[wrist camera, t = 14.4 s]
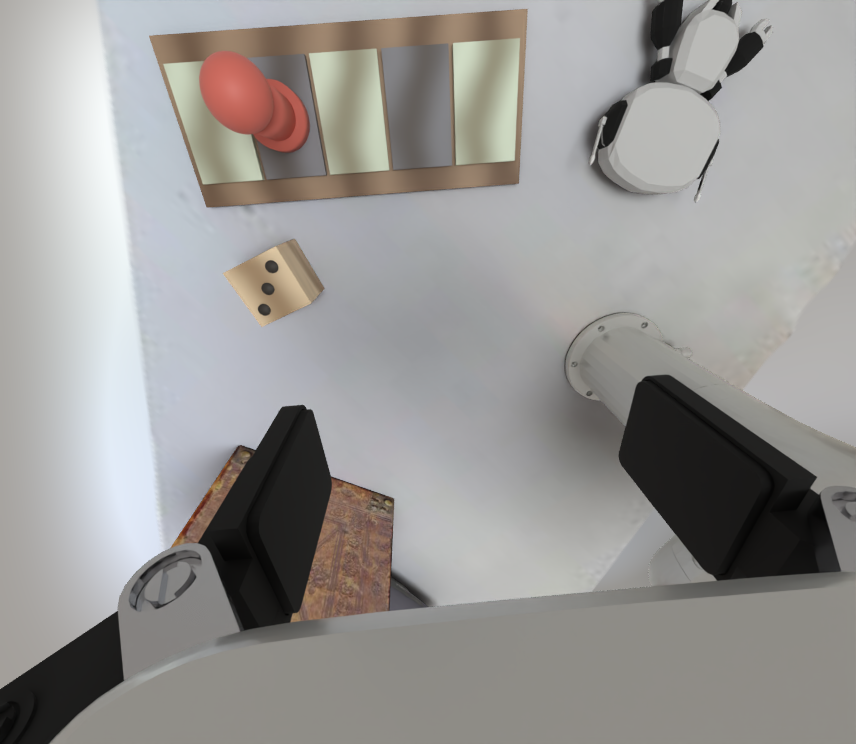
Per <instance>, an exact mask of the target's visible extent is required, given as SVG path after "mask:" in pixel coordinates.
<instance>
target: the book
mask: <svg viewBox="0 0 856 744" xmlns="http://www.w3.org/2000/svg"><path fill="white" fill-rule="evenodd" d="M255 451H256V450H254V449H251V448H248V447H245V446H242V445H240V446H238V447H237V448H236V450H235V451H234V453H233V454H232V456H231V457H230V459H229V460H228V462H227V464H226V465H225V467H224V468H223V470H222V471H221V473H220V474H219V476H218V477H217V479H216V480H215V482H214V483H213V485H212V486H211V488H210V489H209V491H208V492H207V494H206V495H205V497H204V498H203V500H202V501H201V503H200V504H199V506H198V507H197V509H196V510H195V512H194V513H193V515H192V516H191V518H190V519H189V521H188V522H187V524H186V525H185V527H184V528H183V530H182V531H181V533H180V534H179V536H178V537H177V539H176V540H175V542H174V543H173V545H172V547H174V546H178V545H182V544H186V543H198V542H199V540H200V538H201V537H202V535H203V533H204V532H205V530H206V528H207V527H208V525H209V524H210V522H211V520H212V519H213V517H214V515H215V514H216V512H217V510H218V509H219V507H220V505H221V504H222V502H223V500H224V499H225V497H226V495H227V494H228V492H229V490H230V489H231V487H232V486H233V484H234V482H235V481H236V479H237V477H238V476H239V474H240V472H241V471H242V469H243V467H244V466H245V464H246V462H247V461H248V460H249V459H250V457H252V456H253V454H254V453H255ZM331 480H332V490H331V494H330V498H329V502H328V506H327V510H326V514H325V517H324V521H323V525H322V529H321V533H320V537H319V540H318V544H317V548H316V552H315V556H314V559H313V563H312V567H311V571H310V575H309V579H308V582H307V586H306V590H305V594H304V598H303V601H302V605H301V608H300V610H299V612H298V613H293V614H292V618H291V621H290V622H297V621H306V620H315V619H323V618H332V617H340V616H349V615H358V614H366V613H375V612H385V611H390V587H391V563H392V539H393V515H394V499H393V498H390V497H388V496H385V495H382V494H379V493H376V492H373V491H371V490H368V489H365V488H362V487H359V486H356V485H353V484H351V483H348V482H345V481H342V480H339V479H336V478H333V477H331ZM172 547H171V548H172Z"/></svg>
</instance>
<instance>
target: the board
mask: <svg viewBox="0 0 856 744" xmlns="http://www.w3.org/2000/svg"><path fill="white" fill-rule="evenodd" d="M526 29H527V9H519V10H505V11H491V12H477V13H463V14H449V15H435V16H421V17H407V18H393V19H379V20H365V21H351V22H336V23H322V24H308V25H294V26H280V27H266V28H252V29H238V30H224V31H210V32H196V33H182V34H168V35H154V36H149V37H150V40H151V43H152V46H153V49H154V52H155V55H156V58H157V61H158V64H159V67H160V70H161V73H162V76H163V79H164V82H165V85H166V88H167V91H168V94H169V97H170V100H171V103H172V106H173V109H174V112H175V115H176V118H177V121H178V124H179V126H180V129H181V132H182V135H183V138H184V141H185V144H186V147H187V150H188V153H189V156H190V159H191V162H192V165H193V168H194V171H195V174H196V177H197V180H198V183H199V186H200V189H201V192H202V195H203V198H204V201H205V204H206V207H220V206H233V205H246V204H259V203H272V202H285V201H298V200H311V199H324V198H337V197H350V196H362V195H375V194H388V193H401V192H414V191H427V190H440V189H453V188H466V187H479V186H492V185H505V184H518V183H519V169H520V149H521V129H522V109H523V89H524V69H525V49H526ZM218 51H232V52H235V53H238V54H240V55H242V56H244V57H246V58H247V59H249V60H250V61H251V62H253V63H254V64H255V65H256V66H257V67H258V68H259V70H260V71H261V72H262V73H263V75H264V77H265V78H266V79H273V80H277V81H279V82H281V83H283V84H284V85H286V86H287V87H288V88H289V89H291V90H292V91H293V92H294V93H295V94H296V95H297V96H298V97H299V98H300V99H301V101H302V102H303V104H304V105H305V107H306V109H307V112H308V116H309V121H310V132H309V136H308V139H307V141H306V143H305V144H304V145H303V146H302V147H301V148H300V149H299V150H297V151H295V152H291V153H284V152H279V151H276V150H273V149H270V148H268V147H266V146H265V145H263V144H262V143H260V142H259V141H258V140H257V139H256V138H255V136H254V135H253V134H250V135H246V134H240V133H236V132H234V131H232V130H230V129H228V128H226V127H225V126H224V125H222V124H221V123H220V122H219V121H218V120H217V119H216V118H215V117H214V116H213V115H212V114H211V112H210V111H209V109H208V108H207V106H206V104H205V102H204V100H203V97H202V94H201V90H200V84H199V75H200V69H201V67H202V64H203V63H204V61H205V60H206V58H207V57H209V56H210V55H211V54H213V53H215V52H218Z"/></svg>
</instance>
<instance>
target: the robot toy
mask: <svg viewBox="0 0 856 744" xmlns="http://www.w3.org/2000/svg"><path fill="white" fill-rule="evenodd" d="M658 2H659V4H660V5H658V6H657V7H656V8H655V9H654V10H653V11H652V23H651V36H650V37H651V39H652V41H653V43H654V45H655V47H656V49H657V50H658V56H657V62H656V63H655V64H654V65H653V66H652V67H651V80H650V81H654V80H656V81H655V83H649V84H647V85H644V86H642V87H640V88H637V89H636V90H634V91H632V92H630V93H629V94H627V95H625V96H624V97H623V99H622V100H621V101H619V102H617V103H616V104H614V105H612V107H611V108H610V109H609V111H608V112H607V113H606V115H605V116H603V117H602V118H601V119H600V121H599V124H598V127H599V130H598V134H597V137H596V141H595V144H594V148H593V151H592V155H591V156H590V160H589V164H590V165H591V164H592V163H593V161H594V159H595V153H596V149H597V147H598V148H599V151H598V163H599V165H600V167H601V169H602V171H603V172H604V174H605V175H606V176H607V177H608V178H610V179H611V180H612V181H613V182H615V183H616V184H618V185H619V186H621V187H623V188H624V189H626V190H628V191H629V192H635V193H642V194H665V193H673V192H678V191H681V190H683V189H686V188H688V187H689V186H690V185H691V184H692V183H693V182H694V181H695V180H696V179H699V178H700V177H701V176H702V178H701V181H700V185H699V188H698V191H697V194H696V195H695V198H694V201H695V203H696V202H697V201H698V200H699V199H700V197H701V191H702V188H703V185H704V182H705V179H706V175H707V172H708V169H709V166H711V165H712V163H713V160H714V159H713V156H714V154H715V152H716V149H717V146H718V144H719V139H718V138H719V136H720V120H719V117H718V114H717V111H716V110H715V108H714V107H713V106H712V105H711V104H710V103H709V102H708V101H709V100H710V99H712V98H713V97H714V95H715V94H716V93H717V92H718V91H719V90H720V89H721V88H722V87H721V82H722V81H723V80H724V79H725V78H726V77H728V76H730V75H732V74H734V73H736V72H738V71H740V70H741V69H742V68H744V67H745V66H746V65H747V64H748V63H749V62H750V61H751V60H752V59H753V58H754V57H755V55H756V54H757V53H758V52H759V51H760V50H761V49H762V48H763V44H765V42H766V41H767V40H768V38H769V37H770V36H771V34H772V33H773V27H772V26H769V27H767V28H766V29H765V30H763V29H764V28H765V27H766V25H767V24H768V23H769V20H768V19H761V20H760V21H759V22H757V23H756V24H755V25H754V26H753V27H752V29H751V31H750V33H748V34H745V35H744V36H743V37H742V38H741V39H740V40H739V30H738V29H739V24H740V20H741V15H742V10H741V8H740V6H739V4H738V2H737V3H735V4H734V5H732V0H708V1H707V2H705V3H704V4H703V5H701V6H700V7H699V8H697V9H696V10H694V11H693V12H692V13H691V14H690V15H689V16H688V18H687V19H686V20H685V21H684V23H683V24H682V25H681V17H682V7H683V0H658ZM680 25H681V27H680Z"/></svg>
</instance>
